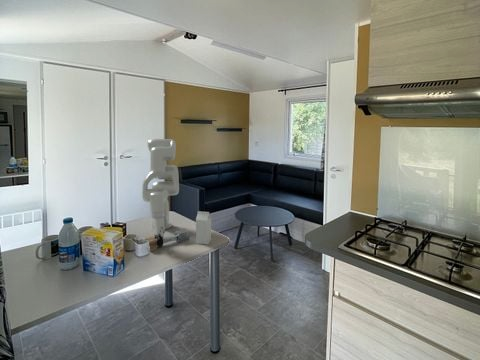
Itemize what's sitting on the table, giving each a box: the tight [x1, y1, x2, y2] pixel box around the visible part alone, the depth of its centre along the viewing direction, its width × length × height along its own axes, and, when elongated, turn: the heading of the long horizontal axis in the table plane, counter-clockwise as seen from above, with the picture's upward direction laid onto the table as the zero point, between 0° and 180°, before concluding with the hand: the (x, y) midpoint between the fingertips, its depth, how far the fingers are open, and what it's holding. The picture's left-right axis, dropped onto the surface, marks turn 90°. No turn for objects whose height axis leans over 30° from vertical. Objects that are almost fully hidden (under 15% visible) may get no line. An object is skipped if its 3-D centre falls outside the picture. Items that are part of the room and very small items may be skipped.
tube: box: [154, 233, 178, 248], centre depth 162 cm, size 4×17×7 cm, turn 127°
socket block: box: [144, 235, 158, 252], centre depth 157 cm, size 7×4×6 cm, turn 37°
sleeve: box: [174, 228, 190, 244], centre depth 168 cm, size 5×7×6 cm
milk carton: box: [195, 210, 212, 245], centre depth 166 cm, size 7×7×19 cm
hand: (158, 243), depth 160 cm, fingers closed on tube, 3 cm apart
